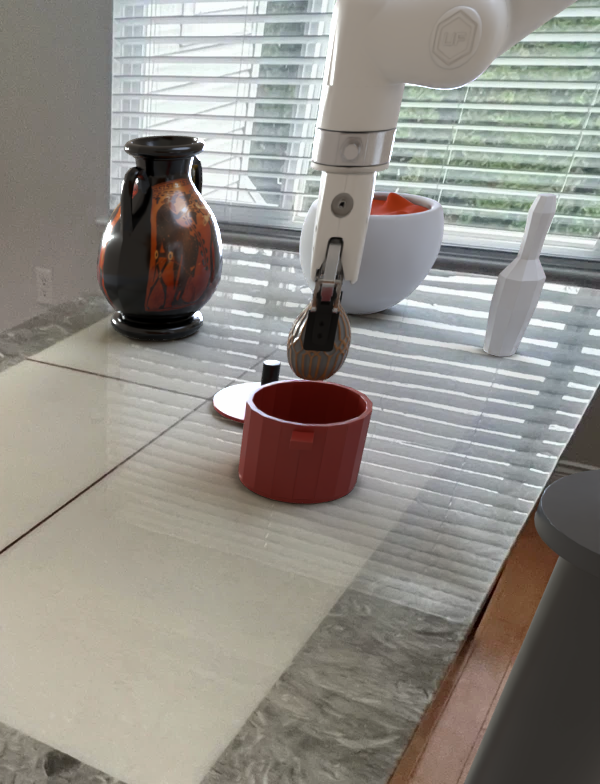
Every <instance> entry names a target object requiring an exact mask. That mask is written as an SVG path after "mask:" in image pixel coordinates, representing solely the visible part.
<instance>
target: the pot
mask: <svg viewBox="0 0 600 784" xmlns="http://www.w3.org/2000/svg"><path fill="white" fill-rule="evenodd" d="M317 203H318V198H317V199H315V200H314V201H312V203H311V205H310V207H309V209H308V211H307V213H306V216H305V218H304V220H303V224H302V227H301V231H300V237H299V251H298V252H299V262H300V267H301V272H302V274H303V277H304V280H305V282H306V284H307V286H308V287H309V289H310V290H311V292H312V293H313V291H314V289H315V283H314V282H313V281H312V280H311V279H310V271H311V256H312V244H313V234H314V225H315V218H316V210H317ZM444 231H445V215H444V208H443V205H442V203H440V202H439V201H437V200H435V199H433V198H431V197H427V196H423V195H419V194H412V193H407V192H406V193H405V192H398V191H397V192H396V191H379V190H374V195H373V201H372V207H371V212H370V218H369V223H368V228H367V233H366V238H365V243H364V249H363V254H362V259H361V264H360V269H359V274H358V280H357V281H356V282H355V283H354V284H350V283H351V281H346V280H345V277H344V278H343V286H342V289H341V291H343V294H342V300H341V305H342V307H343V309H344V311H345V313H346V314H347V315H370V314H371V315H372V314H376V313H380V312H382V311H385V310H387V309H390V308H392V307H394V306H396V305H397V304H399V303H401V302H402V301H404V300H405V299H406V298H409V296H411V294H412V293H414V292H415V291H416V290H417V288H418V287H419V286H420V285H421V284H422V283H423V281H424V280H425V279H426V277H427V276H428V275H429V273H430V271H431V270H432V268H433V266H434V264H435V263H436V261H437V258H438V256H439V253H440V250H441V247H442V243H443V238H444ZM323 276H324V274H323ZM338 278H339V275H338ZM315 281H316V280H315ZM336 289H337V288H336Z"/></svg>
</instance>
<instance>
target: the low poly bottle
mask: <svg viewBox="0 0 600 784" xmlns="http://www.w3.org/2000/svg"><path fill="white" fill-rule="evenodd" d="M556 212H557V194H554V193H549V192H544V193H538V194H537V195H536V197H535V199H534V200H533V202H532V204H531V205H530V208H529V209H528V211H527V217H526V221H525V227H524V232H523V235H522V239H521V241H520V246H519V248H518V252H517V255H516V257H515V258H514V259H513V260H512V261H511V262H510V263H509V264H508V265H506V266H505V268H504V269H502V270H501V271H500V273H498V276H497V279H496V283H495V286H494V289H493V293H492V297H491V299H490V303H489V310H488V316H487V323H486V329H485V334H484V341H483V346H482V350H483V352H485V353H486V354H488V355H491V356H496V357H510V356H513V355H515V354H516V353H517V350H518V348H519V347H520V344H521V342H522V340H523V338H524V335H525V333H526V331H527V329H528V326H529V325H530V322H531V320H532V318H533V316H534V313H535V312H536V309H537V307H538V303H539V300H540V298H541V295H542V292H543V288H544V285H545V282H546V279H547V276H546V274H545V271H544V267H543V266H542V262H541V261H540V256H541V253H542V249H543V246H544V244H545V240H546V237H547V234H548V231H549V229H550V228H551V224H552V222H553V219H554V217H555V215H556Z"/></svg>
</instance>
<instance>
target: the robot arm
mask: <svg viewBox="0 0 600 784" xmlns="http://www.w3.org/2000/svg"><path fill="white" fill-rule="evenodd" d="M578 1H579V0H335V3H334V6H333V10H332V17H331V23H330V30H329V38H328V44H327V51H326V59H325V64H324V72H323V80H322V87H321V92H320V99H319V106H318V113H317V114H318V115H317V120H316V127H315V134H314V141H313V147H312V154H311V161H310V168H311V169H313V170H315V171H319V172H321V175H320V176H321V178H320V183H319V190H318V197H317V199H318V203H317V210H316V218H315V225H314V234H313V244H312V256H311V271H310V279H311V280H312V281H313V282H314V283H315V289H314V291H313V292H312V297H311V300H312V299H313V301H312V307H311V310H309V312H308V318H307V324H306V330H305V337H304V343H303V349H304V350H310V351H325V352H330V351H332V350H333V346H334V341H335V335H336V330H337V324H338V319H339V314H340V311H338V306H339V300H340V303H341V300H342V294H343V291H341V289H342V286H343V278H344V277H345V280H346V281H351V283H350V284H354V283H355V282H356V281H357V280H358V274H359V269H360V264H361V259H362V254H363V249H364V243H365V238H366V233H367V228H368V223H369V218H370V212H371V207H372V201H373V195H374V191H375V187H376V179H377V173H379V172H384V171H386V170H388V169H389V167H390V164H391V163H390V161H391V157H392V152H393V148H394V142H395V137H396V134H397V133H396V132H397V127H398V122H399V117H400V112H401V106H402V101H403V96H404V91H405V87H406V85H411V86H417V87H423V88H428V89H433V90H434V89H435V90H443V91H444V90H445V91H446V90H449V91H450V90H454V89H460V88H462V87H464V86H467V85H469V84H470V83H472V82H474V81H475V80H477V79H478V78H479V77H480V76H482V75H483V73H486V70H487V69H489V67H490V66H491V64H492V63H493V62H494V61H495V60H497V59H498V58H500V56H502V55H504V53H506V52H507V51H508V50H510V49H511V48H512V47H514V46H516V45H517V44H519V43H520V42H521V41H523V40H524V39H525V38H527V37H528V36H530V35H531V34H532V33H534V32H535V31H537V30H538V29H539V28H540V27H542V26H543V25H545V24H546V23H548V22H550V20H552V19H553V18H555V17H556V16H557V15H559V14H561V13H562V12H563V11H565V10H566V9H568V8H569V7H571V6H572V5H574V4H575V3H577V2H578ZM323 274H324V276H323ZM338 275H339V278H338ZM315 280H316V281H315ZM336 288H337V289H336ZM333 303H334V306H333ZM316 308H317V309H316ZM332 309H333V311H332Z"/></svg>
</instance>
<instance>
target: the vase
mask: <svg viewBox="0 0 600 784" xmlns="http://www.w3.org/2000/svg"><path fill="white" fill-rule="evenodd" d="M312 301H313V299H312V298H311V300H310V302H309V303H308V304H307V305H305V307H304V308H303V309H302V310H301V311H300V312H299V313H298V315H297V316H296V317H295V319H294V321H293V323H292V325H291V326H290V328H289V329H290V330H289V333H288V336H287V341H286V342H287V343H286V359H287V362H288V366H289V367H290V370H291V372H293V374H294V375H295V376H296V377H297V378H299V379H300V380H310V381H321V380H323V381H326V380H328V379H330V378H332V377H333V376H334V375H335V374H336V373H338V372H339V370H340V369H341V368H342V367H343V365H344V363H345V361H346V360H347V357H348V354H349V351H350V349H351V348H350V347H351V343H352V342H351V341H352V327H351V322H350V318H349V317H348V314H347V313H345V311H344V309H343V307H342V305H341V303H340V300H339V306H338V311H340V314H339V319H338V324H337V330H336V335H335V341H334V346H333V350H332V351H330V352H325V351H310V350H304V349H303V343H304V337H305V330H306V324H307V318H308V312H309V310H311V307H312ZM333 306H334V303H333ZM316 309H317V308H316ZM332 311H333V309H332Z"/></svg>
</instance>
